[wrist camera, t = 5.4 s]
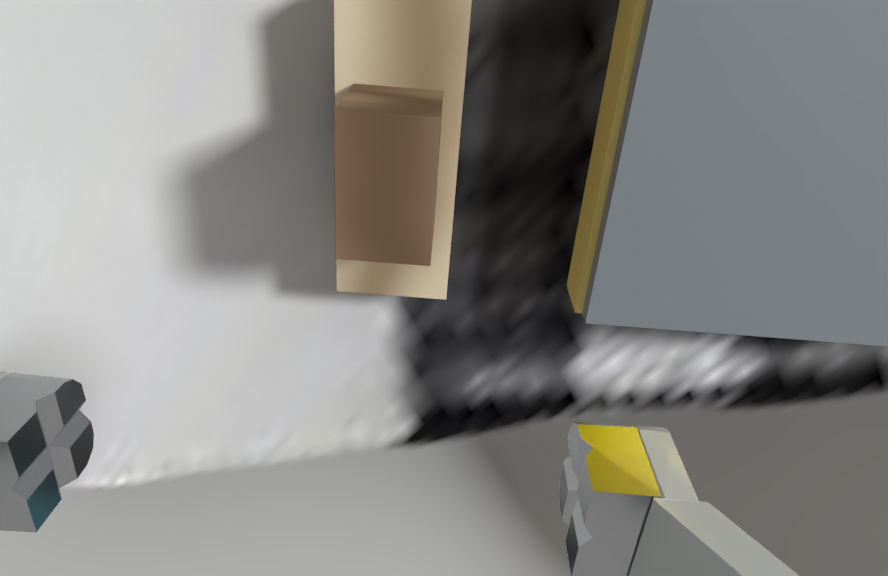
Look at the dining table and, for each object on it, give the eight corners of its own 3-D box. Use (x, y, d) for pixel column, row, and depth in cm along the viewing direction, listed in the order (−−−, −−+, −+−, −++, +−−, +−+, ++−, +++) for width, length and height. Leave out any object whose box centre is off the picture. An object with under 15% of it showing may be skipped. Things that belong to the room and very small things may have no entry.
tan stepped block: (348, 259, 29) (336, 291, 27) (347, -32, 23) (333, -28, 21) (447, 267, 29) (446, 299, 27) (471, -21, 24) (473, -17, 21)
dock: (563, 277, 29) (577, 323, 26) (628, -71, 23) (658, -74, 19) (913, 303, 29) (974, 352, 26) (1079, -34, 23) (1192, -30, 19)
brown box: (353, 214, 25) (335, 258, 21) (354, 83, 22) (334, 109, 19) (434, 220, 25) (430, 266, 21) (444, 90, 23) (440, 117, 19)
